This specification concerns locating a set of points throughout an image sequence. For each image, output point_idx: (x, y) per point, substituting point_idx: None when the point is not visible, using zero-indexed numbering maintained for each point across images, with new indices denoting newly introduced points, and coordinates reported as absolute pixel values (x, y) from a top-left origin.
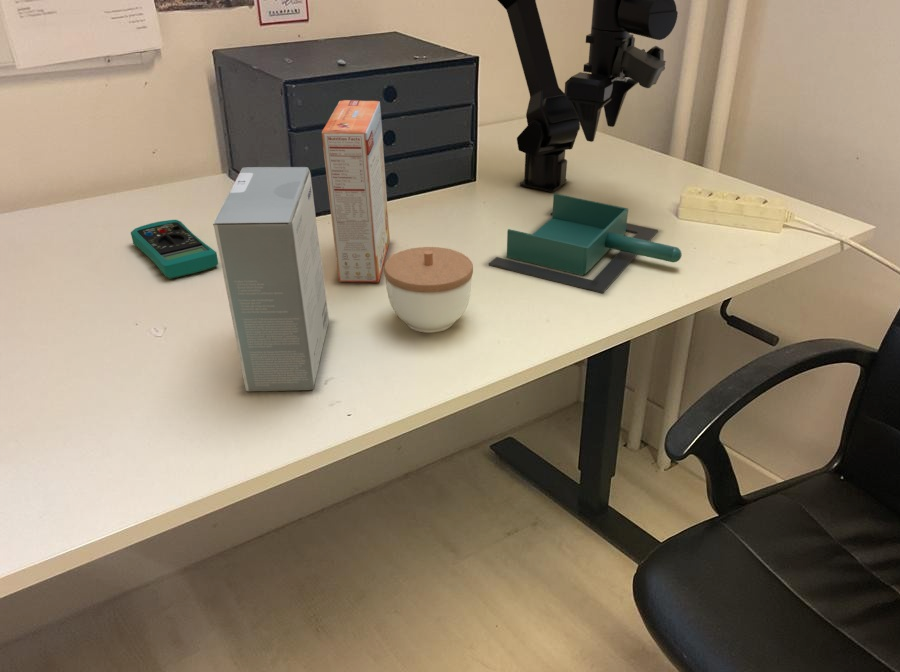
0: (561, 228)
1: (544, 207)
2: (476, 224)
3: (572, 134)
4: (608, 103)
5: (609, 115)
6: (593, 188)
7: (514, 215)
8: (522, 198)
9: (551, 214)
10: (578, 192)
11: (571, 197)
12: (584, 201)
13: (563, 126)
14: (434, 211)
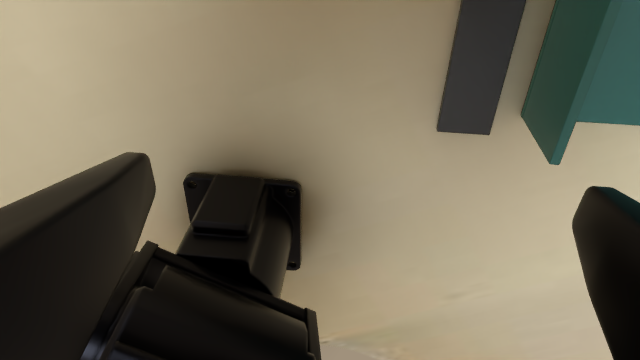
0: (629, 59)
1: (426, 166)
2: None
3: (189, 291)
4: (63, 333)
5: (119, 239)
6: (178, 83)
7: (522, 216)
8: (381, 234)
9: (490, 130)
10: (245, 115)
11: (583, 94)
12: (609, 29)
13: (230, 354)
14: (550, 356)
